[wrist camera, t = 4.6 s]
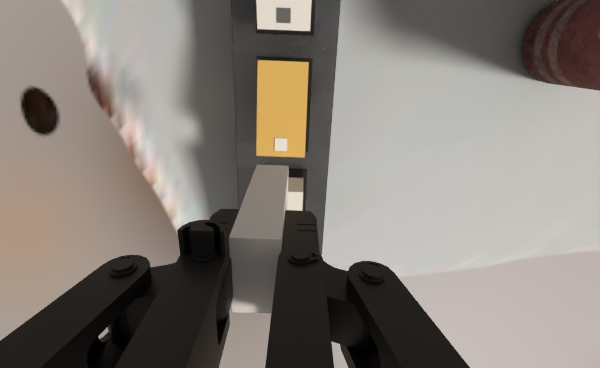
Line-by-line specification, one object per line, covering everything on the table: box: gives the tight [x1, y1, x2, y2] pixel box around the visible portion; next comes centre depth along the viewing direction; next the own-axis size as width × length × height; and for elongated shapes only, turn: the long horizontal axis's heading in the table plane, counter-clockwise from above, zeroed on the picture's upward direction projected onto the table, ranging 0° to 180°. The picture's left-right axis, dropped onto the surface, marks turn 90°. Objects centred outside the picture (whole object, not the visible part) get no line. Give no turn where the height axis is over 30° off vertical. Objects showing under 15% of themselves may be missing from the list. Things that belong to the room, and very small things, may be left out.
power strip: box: [231, 0, 341, 255], centre depth 24 cm, size 31×7×4 cm, turn 178°
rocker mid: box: [256, 60, 309, 158], centre depth 22 cm, size 6×3×2 cm, turn 178°
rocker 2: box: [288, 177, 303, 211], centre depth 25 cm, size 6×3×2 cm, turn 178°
